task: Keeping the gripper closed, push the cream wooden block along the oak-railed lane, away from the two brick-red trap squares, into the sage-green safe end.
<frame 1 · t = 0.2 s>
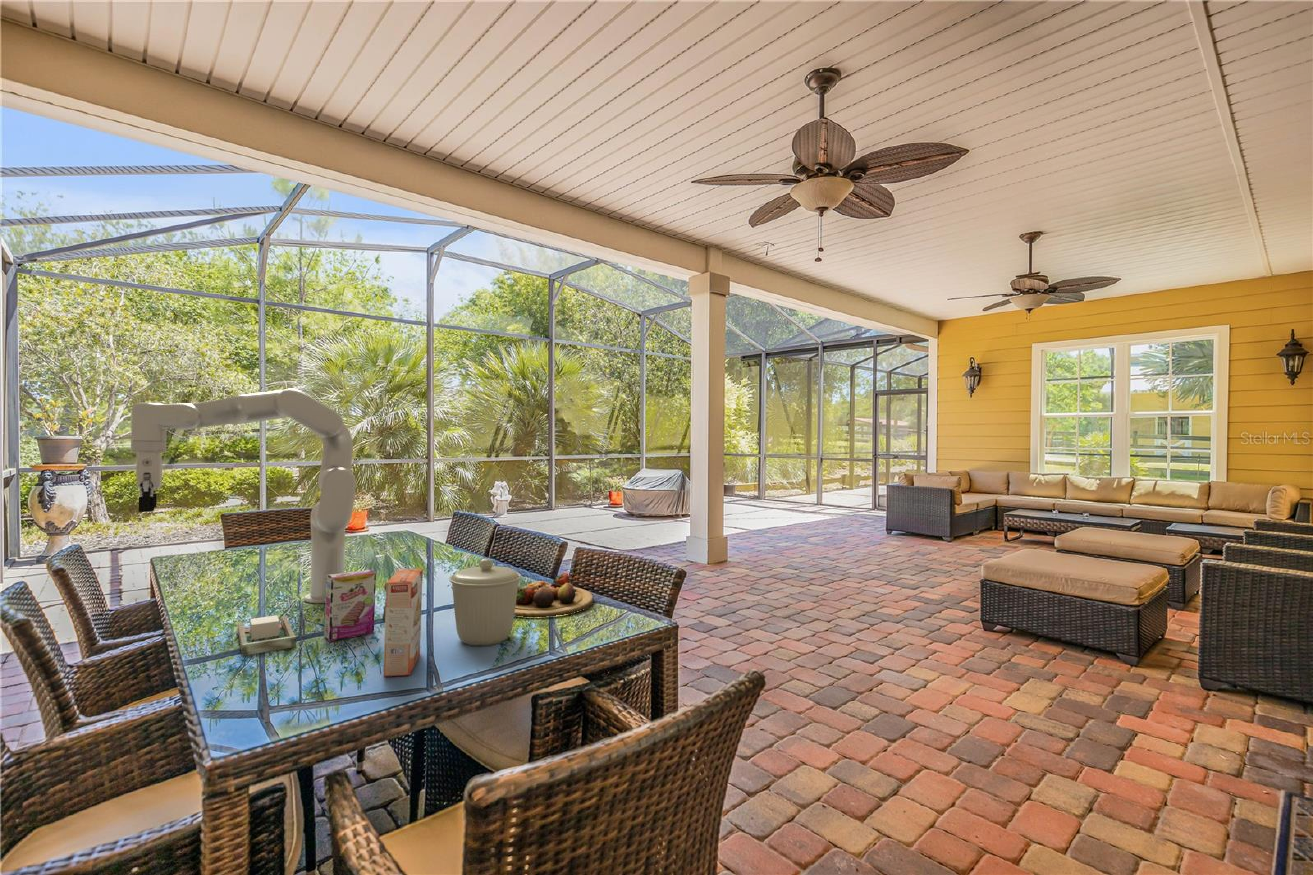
hand: (147, 509, 168), 31 cm above the table, tool pointing down, fingers open, 9 cm apart
cream block: (264, 635, 160), resting in finger lane
candy bar box: (350, 636, 160), on the table
cracker box: (403, 666, 141), on the table
wooden plate with food: (542, 605, 194), on the table
finger lane: (265, 638, 157), on the table
cork: (393, 619, 175), on the table
canister: (484, 640, 159), on the table
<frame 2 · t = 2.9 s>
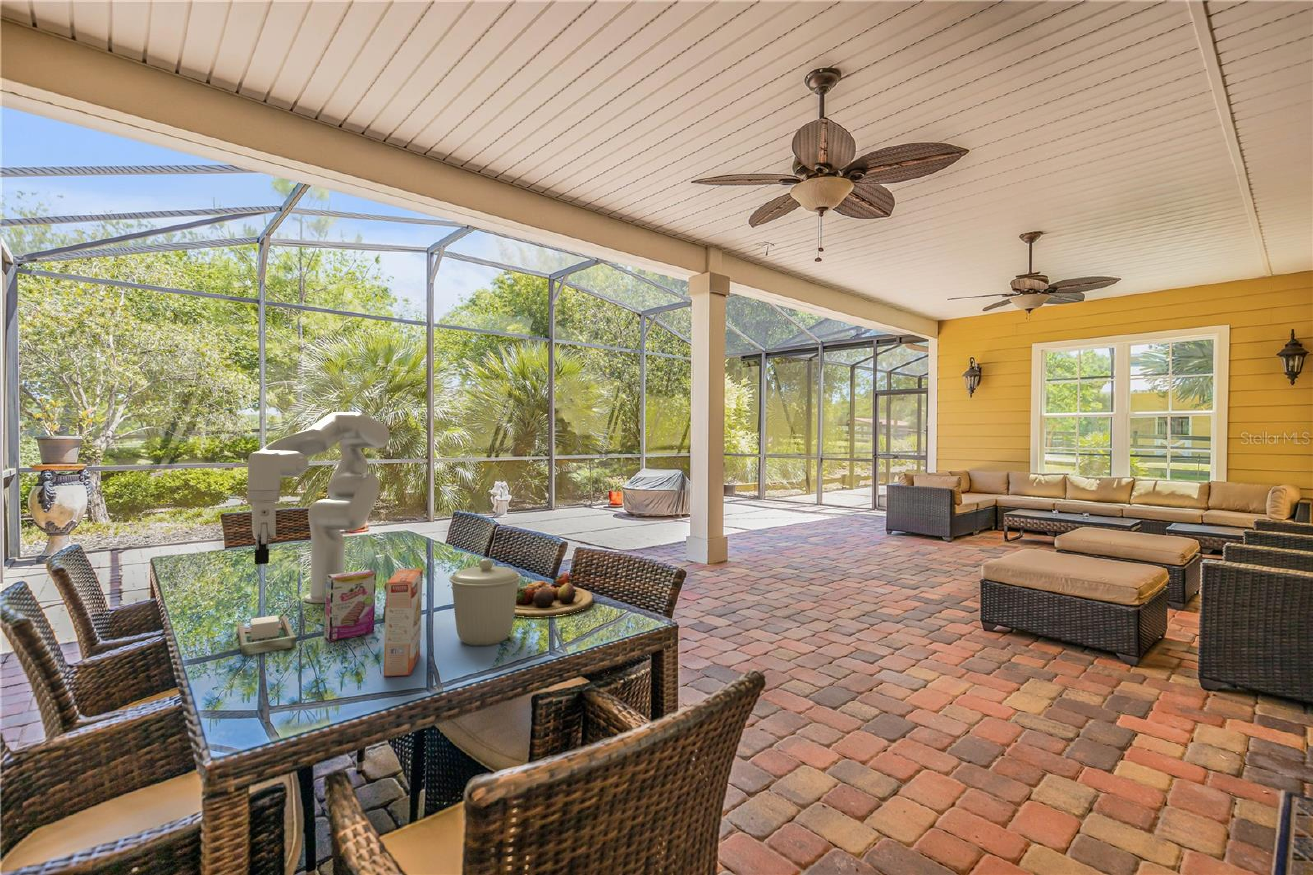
hand: (261, 563, 167), 17 cm above the table, tool pointing down, fingers closed
nothing on the table moved.
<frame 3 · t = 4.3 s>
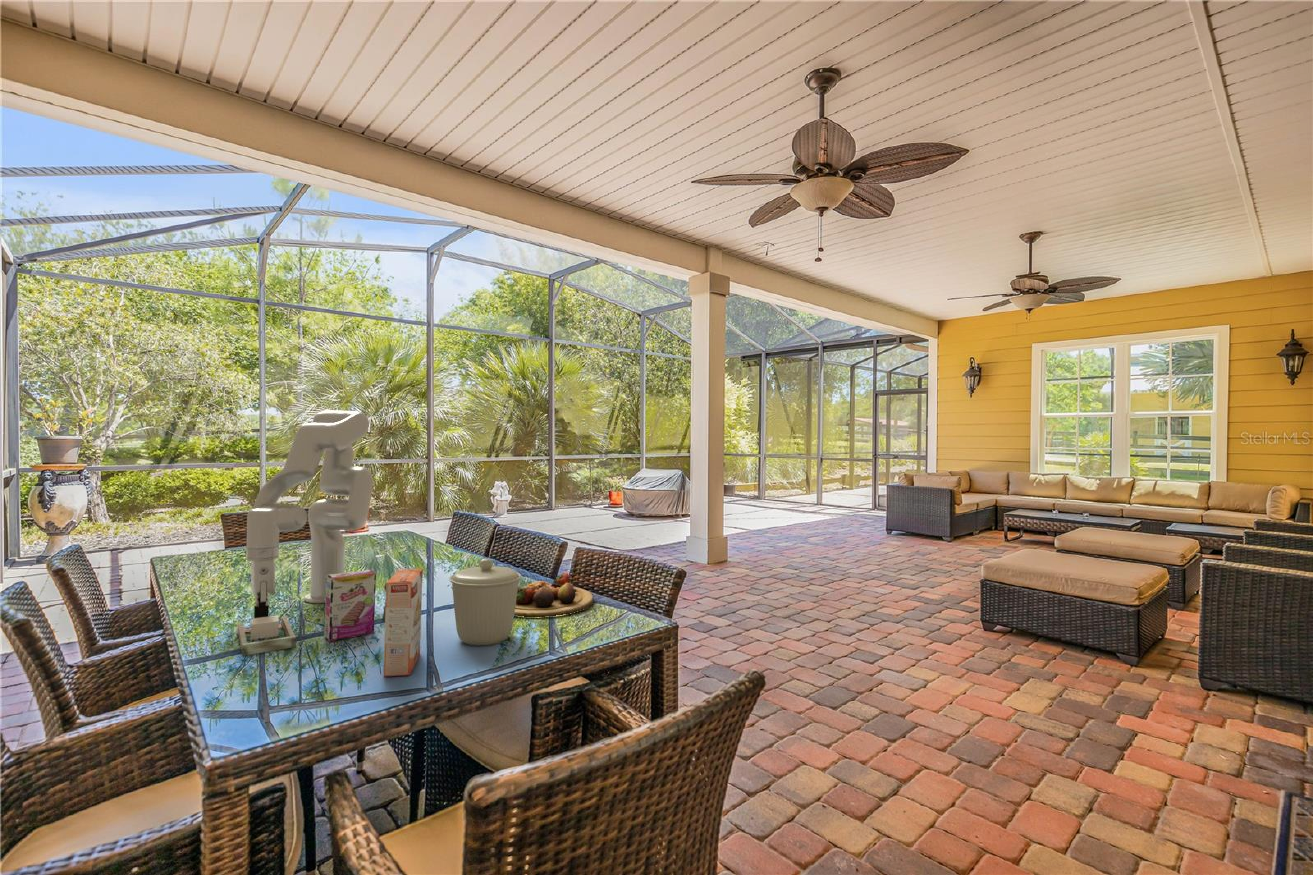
hand: (261, 620, 168), 1 cm above the table, tool pointing down, fingers closed
nothing on the table moved.
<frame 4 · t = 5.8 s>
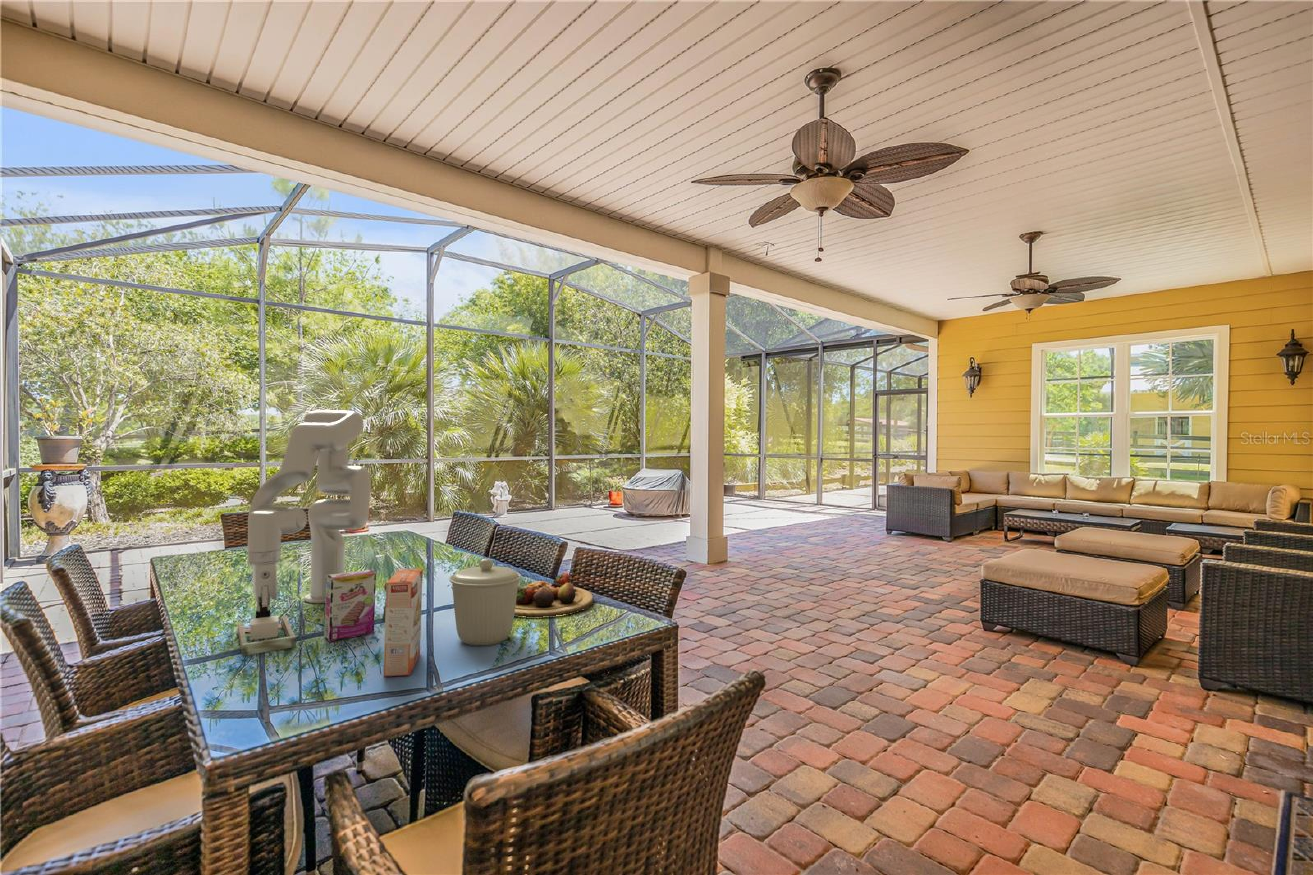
hand: (262, 625, 164), 1 cm above the table, tool pointing down, fingers closed
cream block: (264, 635, 160), resting in finger lane, touching gripper
everything else where it was.
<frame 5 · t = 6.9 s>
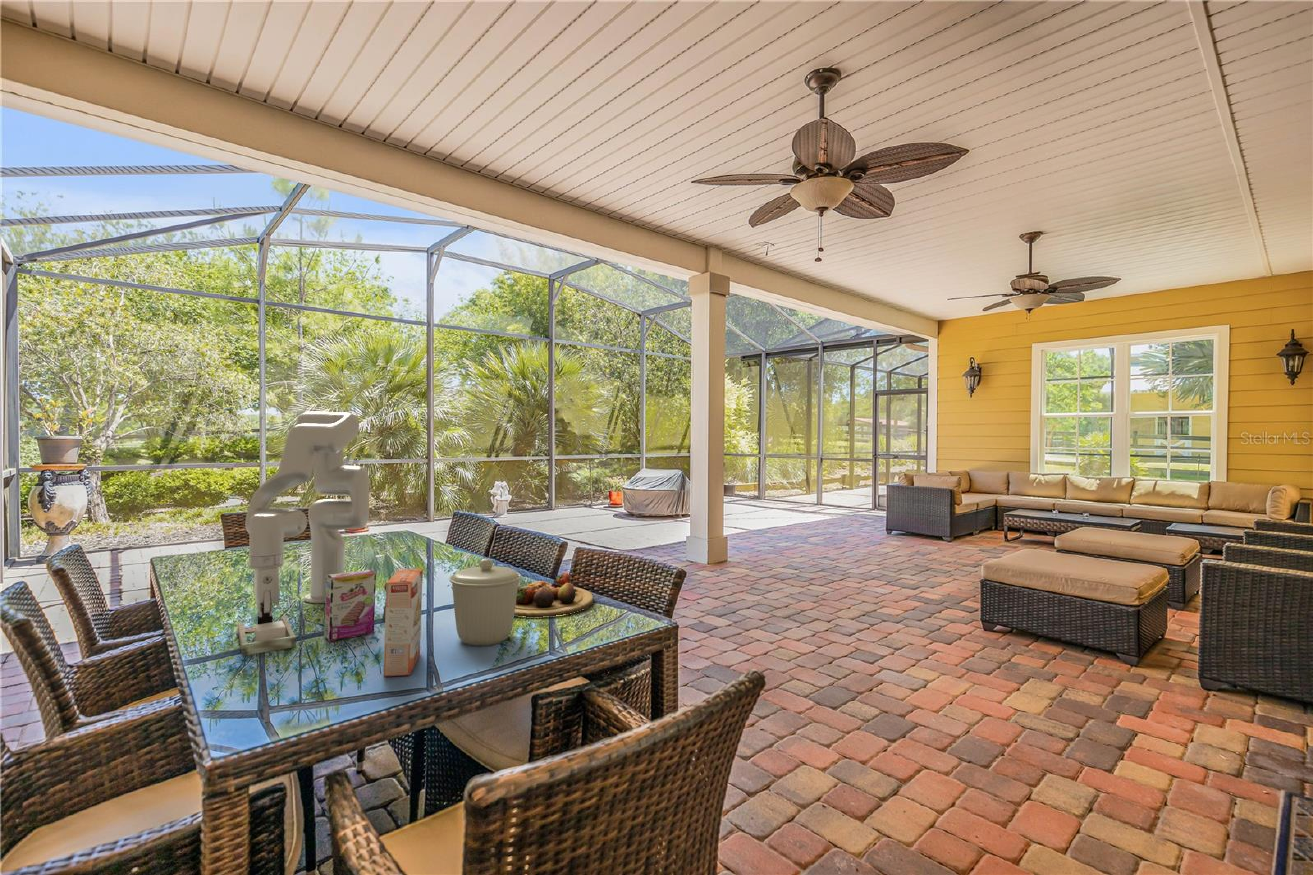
hand: (264, 631, 159), 1 cm above the table, tool pointing down, fingers closed
cream block: (270, 641, 155), resting in finger lane, touching gripper
everything else where it was.
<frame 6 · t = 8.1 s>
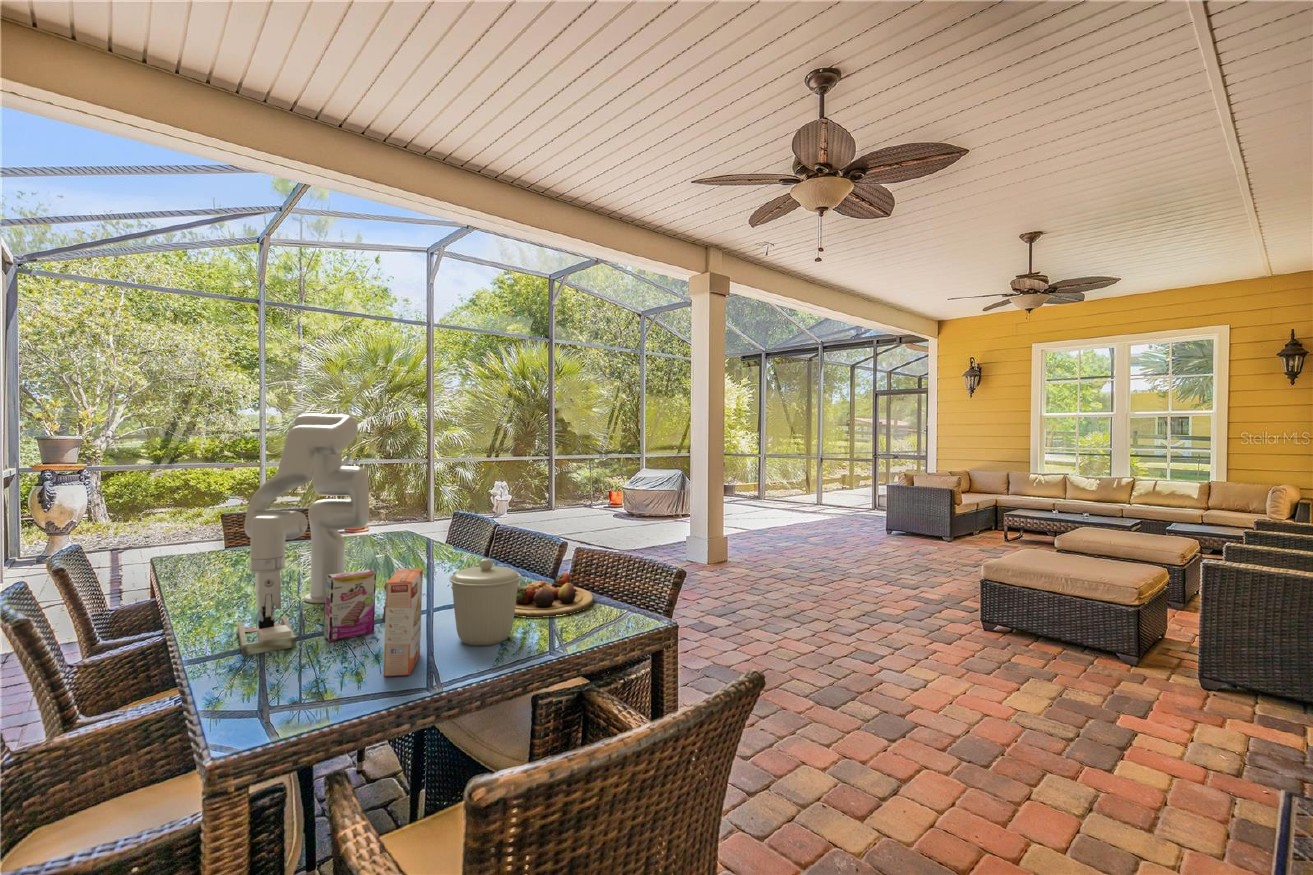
hand: (266, 635, 155), 1 cm above the table, tool pointing down, fingers closed
cream block: (274, 646, 152), resting in finger lane, touching gripper
everything else where it was.
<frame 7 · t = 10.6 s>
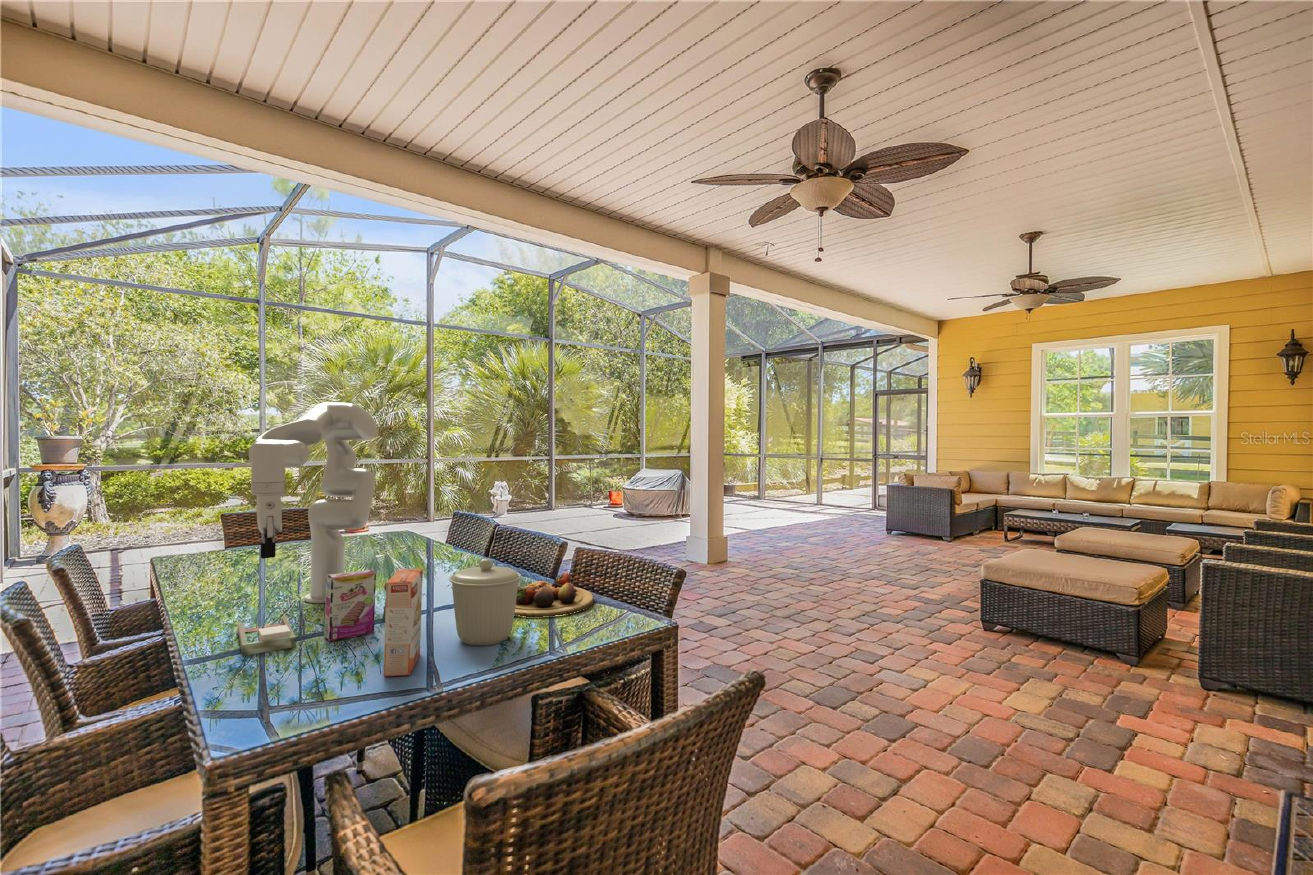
hand: (268, 557, 162), 20 cm above the table, tool pointing down, fingers closed
cream block: (274, 646, 152), resting in finger lane
everything else where it was.
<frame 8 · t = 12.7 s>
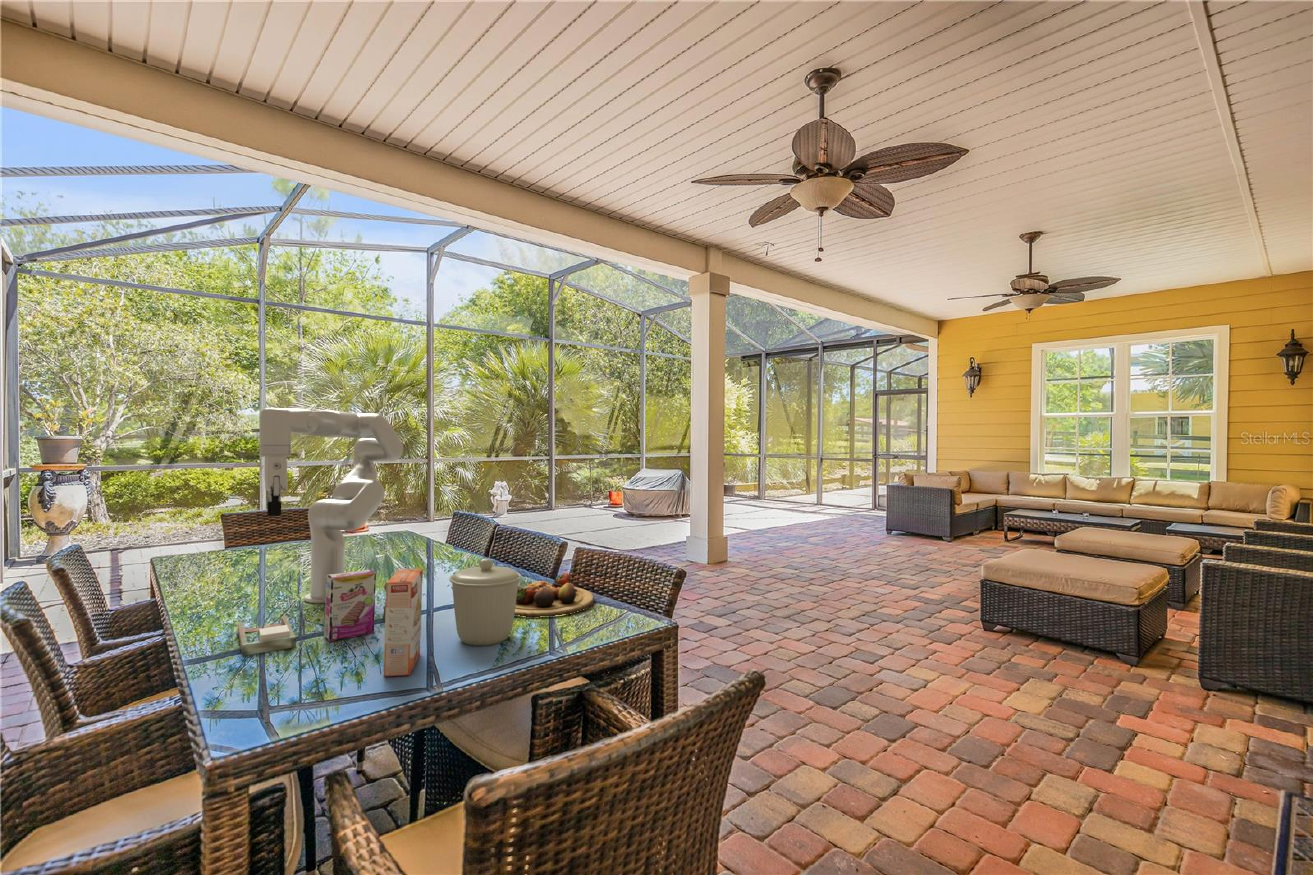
hand: (274, 515, 174), 29 cm above the table, tool pointing down, fingers closed
nothing on the table moved.
at the end: cream block inside the target area (1.2 cm from its centre), resting in finger lane; cream block tilted 0°; cream block moved 10.7 cm from its start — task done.
